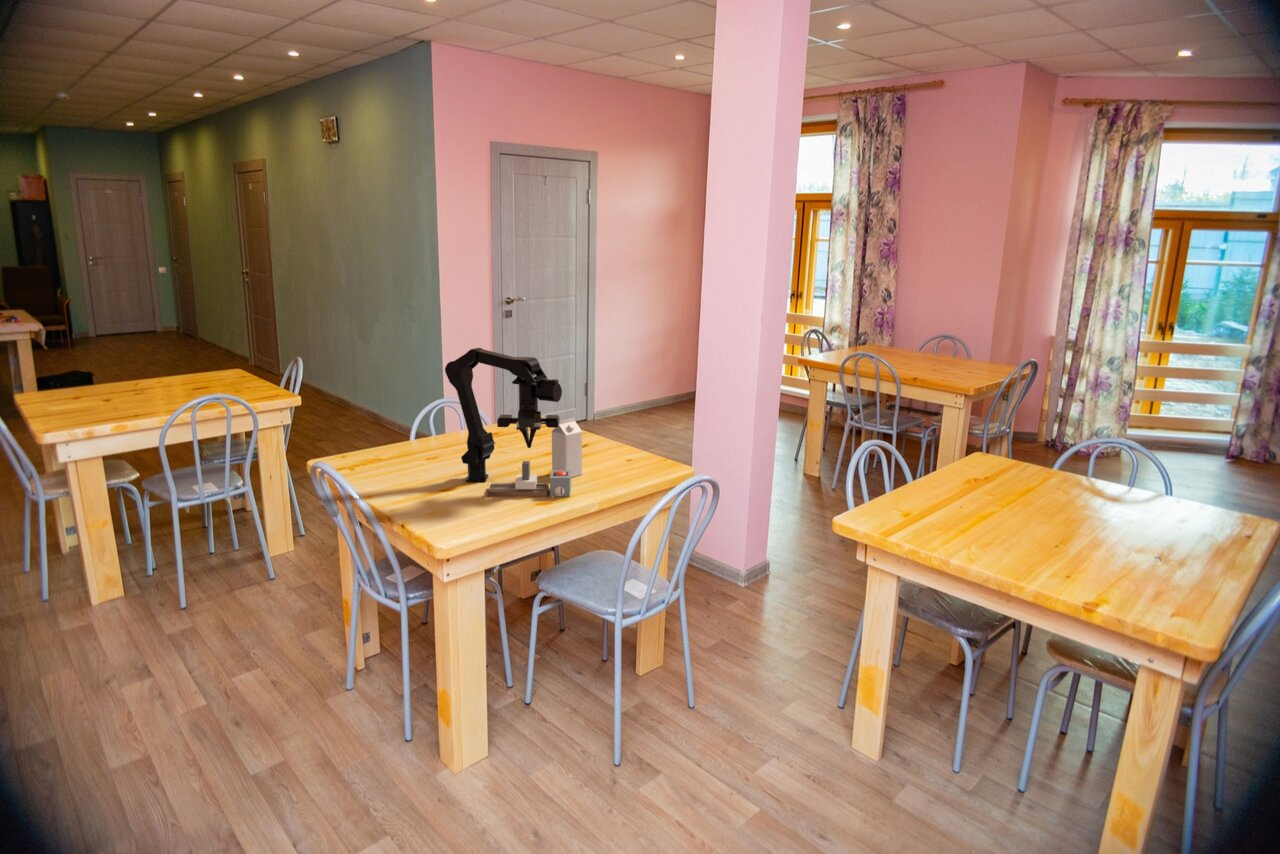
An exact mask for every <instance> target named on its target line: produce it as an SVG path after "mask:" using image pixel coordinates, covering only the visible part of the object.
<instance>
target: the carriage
mask: <svg viewBox="0 0 1280 854" xmlns="http://www.w3.org/2000/svg"><path fill="white" fill-rule="evenodd" d="M514 483H515V489H535V488H536V485H537V483H538V474H531V461H530V460H523V461H522V464H521V474H517V476H516V478H515V482H514Z"/></svg>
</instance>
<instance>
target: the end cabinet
mask: <svg viewBox="0 0 1280 854" xmlns="http://www.w3.org/2000/svg"><path fill="white" fill-rule="evenodd" d="M556 471H565V472H566V476H555V472H556ZM571 491H572V477H571V470H552V469H551V471H550V475H549V497H550V496H553V498H554V497H559V498H561V497H564V498H565V497H566V498H569V497H571Z"/></svg>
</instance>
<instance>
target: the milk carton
mask: <svg viewBox="0 0 1280 854" xmlns="http://www.w3.org/2000/svg"><path fill="white" fill-rule="evenodd" d="M551 467H552V469H551V471H552V470H571V478H574V477H577V476H582V475H583V431H582V429H581V427H580V426H579V425H578V423H577V422H576V417H572V418H568V419H567V418H566V419H562V420H560V424H559V427H557V428H552V430H551Z"/></svg>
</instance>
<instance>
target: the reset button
mask: <svg viewBox="0 0 1280 854" xmlns="http://www.w3.org/2000/svg"><path fill="white" fill-rule="evenodd" d="M555 476H566V472H565V471H556V472H555Z"/></svg>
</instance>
